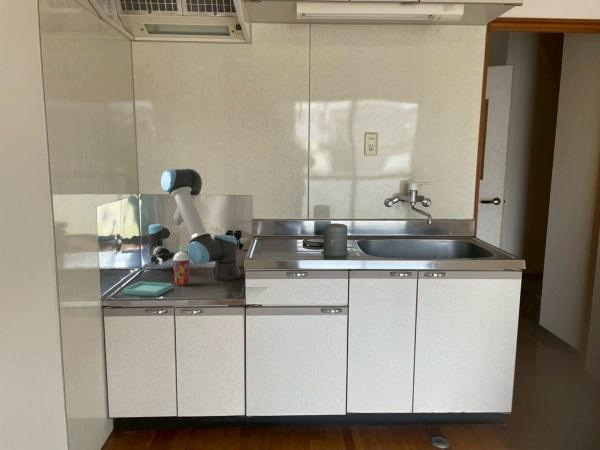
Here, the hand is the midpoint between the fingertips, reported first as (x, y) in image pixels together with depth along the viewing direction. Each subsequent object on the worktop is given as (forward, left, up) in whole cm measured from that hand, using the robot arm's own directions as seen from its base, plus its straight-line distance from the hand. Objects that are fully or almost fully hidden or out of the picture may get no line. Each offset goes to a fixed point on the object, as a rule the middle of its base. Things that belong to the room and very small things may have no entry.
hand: (174, 260), depth 239 cm
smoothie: (-7, +6, -11) cm, 14 cm away
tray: (+3, +21, -11) cm, 24 cm away
